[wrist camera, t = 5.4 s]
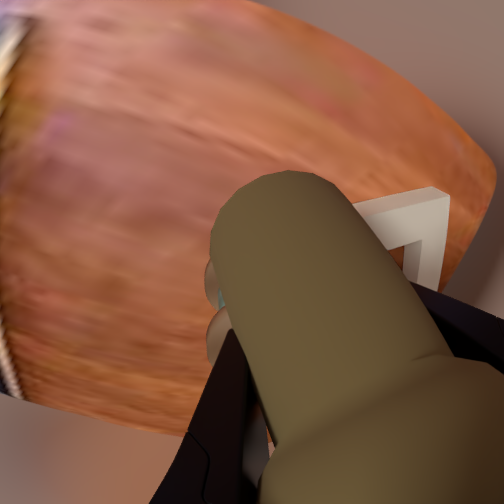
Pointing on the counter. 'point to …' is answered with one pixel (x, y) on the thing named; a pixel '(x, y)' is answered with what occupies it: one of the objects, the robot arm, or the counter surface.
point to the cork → (349, 358)
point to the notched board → (412, 230)
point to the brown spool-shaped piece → (221, 318)
